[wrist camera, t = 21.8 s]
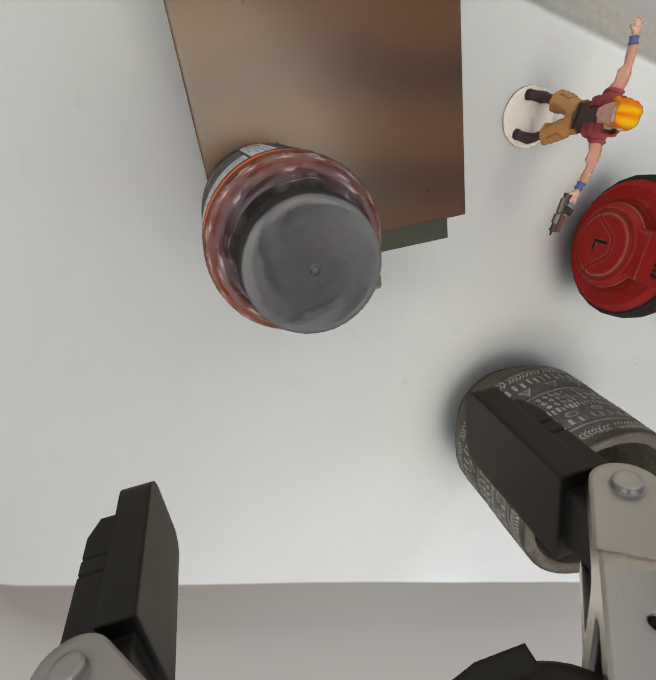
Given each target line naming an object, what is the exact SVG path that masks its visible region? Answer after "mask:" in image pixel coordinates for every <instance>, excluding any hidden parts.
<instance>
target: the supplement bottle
mask: <svg viewBox="0 0 656 680" xmlns="http://www.w3.org/2000/svg"><path fill="white" fill-rule="evenodd" d="M276 142H277V143H278V144H277V143H263V144H254V145H249V146H246V147H243V148H241V149H238V150H236V151H234V152H232V153H230V154H229V155H228V156H226V157H225V158H224V159H223V160H222V161H221V162H220V163H219V164H218V165H217V166H216V168H215V169H214V171H213V172H212V173H211V175H210V177H209V179H208V181H207V184H206V187H205V189H204V194H203V199H202V239H203V249H204V256H205V261H206V265H207V268H208V271H209V274H210V276H211V278H212V280H213V282H214V284H215V286H216V288H217V289H218V291H219V292H220V294H221V295H222V296H223V298H224V299H225V300H226V301H227V302H228V303H229V304H230V305H231V306H232V307H233V308H234V309H235V310H236V311H238V312H239V313H240V314H242V315H243V316H245V317H247V318H248V319H250V320H251V321H254V322H256V323H259V324H261V325H264V326H268V327H271V328H276V329H284V330H287V331H292V332H297V333H304V334H311V333H319V332H325V331H328V330H332V329H334V328H337V327H339V326H340V325H342V324H344V323H346V322H347V321H349V320H350V319H352V318H353V317H354V316H355V315H356V314H358V313H359V312H360V310H362V309H363V308H364V306H365V305H366V304H367V303H368V301H369V299H370V298H371V296H372V294H373V292H374V290H375V289H376V285H377V283H378V280H379V277H380V271H381V225H380V219H379V216H378V212H377V209H376V206H375V204H374V201H373V200H372V197H371V194H370V193H369V192H368V190H367V189H366V187H365V186H364V185H363V183H362V182H361V181H360V180H359V179H358V178H357V177H356V176H355V175H354V173H353V172H351V171H350V170H349V169H347V168H346V167H345V166H344V165H343V164H341V163H339V162H337V161H336V160H334V159H332V158H329V157H327V156H325V155H322V154H319V153H316V152H313V151H311V150H306V149H300V148H297V147H290V146H285V145H282V144H280V143H279V142H278V141H276Z"/></svg>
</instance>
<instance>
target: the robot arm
mask: <svg viewBox="0 0 656 680" xmlns="http://www.w3.org/2000/svg"><path fill="white" fill-rule="evenodd" d="M464 405H465V431H466V445H467V449H468V452H469V454H470V456H471V458H472V460H473V462H474V463H475V465H476V466H477V467H478V468H479V469H480V471H481V472H482V473H483V474H484V475H485V477H486V478H487V479H488V480H489V481H490V482H491V484H492V485H493V486H494V487H495V488H496V489H497V491H498V492H499V493H500V494H501V495H502V497H503V498H504V499H505V500H506V501H507V502H508V504H509V505H510V506H511V507H512V508H513V510H514V511H515V512H516V513H517V514H518V515H519V517H520V518H521V519H522V520H523V521H524V523H525V524H526V525H527V526H528V527H529V528H530V530H531V531H532V532H533V533H534V534H535V536H536V537H537V538H538V539H539V540H540V541H541V543H542V544H543V545H544V546H545V547H546V548H547V550H548V551H549V552H550V553H551V554H552V556H553V557H554V558H555V559H558V558H561V557H563V556H566V555H569V554H572V553H574V554H575V555H576V556H577V557H578V559H579V560H580V594H581V619H582V642H583V658H582V667H579V666H576V665H573V664H568V663H562V662H555V661H536V660H535V658H534V657H533V655H532V654H531V652H530V651H529V649H528V648H527V646H526V644H525V643H524V644H521V645H519V646H516V647H513V648H511V649H508V650H506V651H503V652H500V653H498V654H495V655H493V656H490V657H488V658H485V659H482V660H479V661H477V662H474V663H473V664H472V665H471V666H469V667H468V668H467V669H466V670H464V671H463V672H462V673H461V674H459V675H458V676H457V677H455V678H454V679H453V680H656V476H655V475H653V474H652V473H650V472H649V471H646V470H644V469H642V468H640V467H637V466H633V465H630V464H624V463H609V462H607V461H606V460H605V459H604V458H602V457H601V456H600V455H599V454H597V453H596V452H595V451H594V450H592V449H591V448H590V447H588V446H587V445H586V444H585V443H583V442H582V441H581V440H580V439H578V438H577V437H576V436H575V435H573V434H572V433H571V432H570V431H568V430H565V428H564V427H563V426H562V425H561V424H560V423H558V422H557V421H556V420H553V418H552V417H551V416H550V415H548V414H547V413H546V412H545V411H543V410H542V409H541V408H540V407H538V406H536V405H533V404H531V403H529V402H526V401H524V400H521V399H515V400H512V399H511V398H510V397H508V396H507V395H506V394H505V393H504V392H502V391H501V390H500V389H499V388H497V387H496V386H491V387H487V388H484V389H480V390H477V391H473V392H470V393H467V394H466V395H465V399H464ZM82 559H83V562H82V563H81V566H80V570H79V574H78V576H79V579H77V582H76V585H75V589H74V593H73V597H72V601H71V605H70V609H69V613H68V617H67V621H66V625H65V628H64V632H63V636H62V640H61V643H60V645H59V646H58V647H57V648H55V649H54V650H53V651H52V652H51V653H50V654H49V655H48V656H46V658H45V659H44V660H43V661H42V662H41V663H40V665H39V666H38V667H37V669H36V670H35V672H34V673H33V675H32V677H31V679H30V680H175V662H176V632H177V601H178V599H177V598H178V569H179V547H178V540H177V536H176V532H175V528H174V526H173V523H172V521H171V518H170V515H169V513H168V510H167V508H166V505H165V503H164V500H163V498H162V495H161V493H160V490H159V488H158V485H157V484H156V482H155V481H152V482H149V483H145V484H142V485H138V486H135V487H131V488H127V489H124V490H122V491H121V492H120V495H119V500H118V505H117V510H116V515H113V516H110V517H106V518H103V519H101V520H100V522H99V523H98V524H97V526H96V527H95V529H94V530H93V532H92V533H91V534H90V536H89V537H88V539H87V543H86V547H85V551H84V554H83V558H82Z"/></svg>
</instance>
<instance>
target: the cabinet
mask: <svg viewBox="0 0 656 680" xmlns="http://www.w3.org/2000/svg"><path fill="white" fill-rule="evenodd" d="M164 5H165V9H166V13H167V17H168V21H169V25H170V29H171V33H172V37H173V41H174V45H175V50H176V54H177V58H178V62H179V66H180V70H181V74H182V78H183V82H184V86H185V90H186V95H187V99H188V103H189V107H190V111H191V115H192V119H193V123H194V127H195V131H196V135H197V140H198V144H199V148H200V152H201V156H202V160H203V164H204V168H205V172H206V176H207V180H208V179H209V177H210V175H211V173H212V172H213V171H214V169H215V168H216V166H217V165H218V164H219V163H220V162H221V161H222V160H223V159H224V158H225V157H226V156H228V155H229V154H230V153H232V152H234V151H236V150H238V149H241V148H243V147H246V146H249V145H254V144H263V143H277V142H276V141H278V142H279V143H280V144H282V145H285V146H290V147H297V148H300V149H306V150H311V151H313V152H316V153H319V154H322V155H325V156H327V157H329V158H332V159H334V160H336V161H337V162H339V163H341V164H343V165H344V166H345V167H346V168H347V169H349V170H350V171H351V172H353V173H354V175H355V176H356V177H357V178H358V179H359V180H360V181H361V182H362V183H363V185H364V186H365V187H366V189H367V190H368V192H369V193H370V194H371V197H372V200H373V201H374V204H375V206H376V209H377V212H378V216H379V219H380V225H381V232H382V231H386V230H391V229H396V228H401V227H405V226H410V225H415V224H420V223H425V222H429V221H434V220H439V219H444V218H448V217H453V216H458V215H463V214H465V189H464V144H463V99H462V55H461V10H460V0H164ZM277 144H278V143H277Z"/></svg>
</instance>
